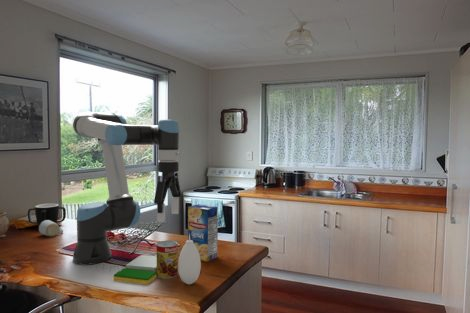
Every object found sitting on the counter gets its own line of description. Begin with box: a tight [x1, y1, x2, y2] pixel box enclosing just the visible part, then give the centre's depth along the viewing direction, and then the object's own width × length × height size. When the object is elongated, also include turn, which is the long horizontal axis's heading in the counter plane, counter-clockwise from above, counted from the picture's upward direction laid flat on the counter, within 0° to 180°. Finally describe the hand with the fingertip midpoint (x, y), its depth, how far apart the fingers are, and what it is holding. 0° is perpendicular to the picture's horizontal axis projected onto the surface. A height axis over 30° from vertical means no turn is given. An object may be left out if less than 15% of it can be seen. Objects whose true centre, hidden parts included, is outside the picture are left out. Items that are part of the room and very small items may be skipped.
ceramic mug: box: [38, 220, 64, 237], centre depth 186 cm, size 11×8×8 cm
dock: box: [125, 254, 157, 274], centre depth 140 cm, size 12×12×3 cm
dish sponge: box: [113, 267, 158, 285], centre depth 130 cm, size 7×14×2 cm, turn 75°
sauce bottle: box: [178, 233, 202, 285], centre depth 125 cm, size 8×8×18 cm
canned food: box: [156, 239, 179, 280], centre depth 133 cm, size 8×8×12 cm
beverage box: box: [187, 203, 219, 262], centre depth 153 cm, size 7×11×22 cm, turn 56°
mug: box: [27, 203, 67, 227], centre depth 205 cm, size 16×16×12 cm
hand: (168, 217), depth 133 cm, fingers open, 13 cm apart
